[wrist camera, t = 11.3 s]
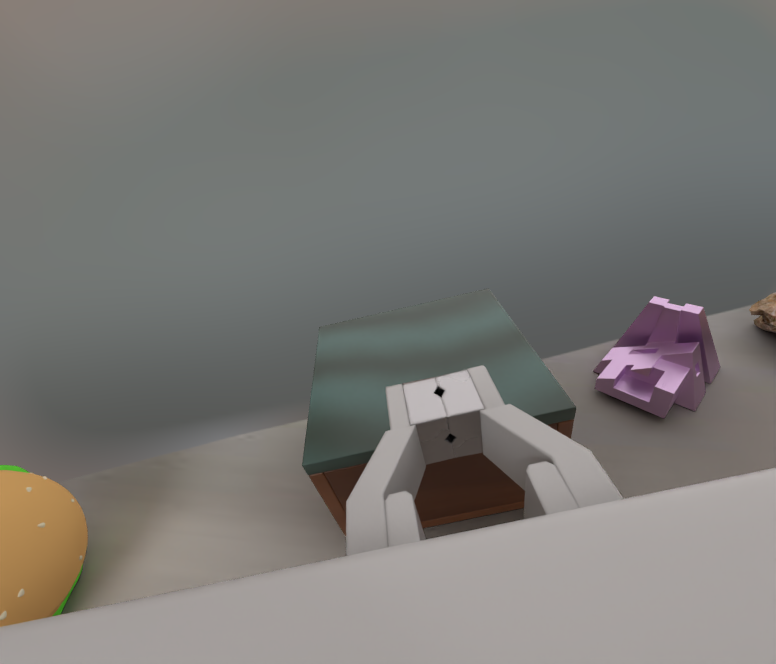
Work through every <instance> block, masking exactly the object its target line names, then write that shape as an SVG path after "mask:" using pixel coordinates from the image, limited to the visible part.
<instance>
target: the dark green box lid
mask: <svg viewBox="0 0 776 664" xmlns="http://www.w3.org/2000/svg"><path fill="white" fill-rule="evenodd" d="M481 365H483V366H485V367H486V369H487V371H488V373H489V375H490V377H491V379H492V381H493V383H494V384H495V386H496V388H497V390H498V392H499V394H500V396H501V398H502V400H503V402H504V404H505V405H508V404H511V405H513V406H515V407H516V408H518V409H520V410H522V411H523V412H525V413H527V414H529V415H530V416H532V417H534V418H535V419H537V420H539V421H541V422H542V423H544V424H546V425H548V424H553V423H558V422H562V421H567V420H572V419H574V417H575V411H576V406H575V405H574V404H573V402H572V401H571V400H570V398H569V397H568V396H567V394H566V393H565V391H564V390H563V389H562V387H561V386H560V385H559V383H558V382H557V381H556V379H555V378H554V376H553V375H552V374H551V372H550V371H549V370H548V368H547V367H546V366H545V364H544V363H543V362H542V360H541V359H540V357H539V356H538V355H537V354H536V352H535V351H534V349H533V348H532V347H531V345H530V344H529V343H528V341H527V340H526V339H525V337H524V336H523V334H522V333H521V332H520V330H519V329H518V328H517V326H516V325H515V324H514V322H513V321H512V319H511V318H510V317H509V315H508V314H507V313H506V311H505V310H504V309H503V307H502V306H501V304H500V303H499V302H498V300H497V299H496V298H495V296H494V295H493V294H492V292H491V291H490V290H489V289H484V290H479V291H475V292H471V293H466V294H462V295H457V296H453V297H449V298H444V299H440V300H436V301H431V302H427V303H423V304H418V305H414V306H410V307H405V308H401V309H396V310H392V311H387V312H383V313H378V314H375V315H370V316H366V317H361V318H357V319H352V320H348V321H343V322H339V323H335V324H330V325H326V326H321V327H319V335H318V343H317V351H316V359H315V367H314V376H313V383H312V391H311V400H310V407H309V415H308V423H307V431H306V439H305V447H304V455H303V463H302V466H303V468H304V470H305V471H306V473H307V474H308V475H312V474H317V473H321V472H326V471H331V470H336V469H340V468H345V467H350V466H354V465H359V464H364V463H368V462H369V460H370V458H371V456H372V455H373V453H374V451H375V449H376V448H377V446H378V444H379V442H380V440H381V439H382V437H383V435H384V433H385V431H389V430H390V423H389V415H388V407H387V399H386V392H385V390H386V387H387V386H393V385H398V384H402V383H406V382H411V381H416V380H421V379H426V378H431V377H435V376H439V375H443V374H448V373H452V372H456V371H461V370H465V369H466V370H467V369H469V368H473V367H477V366H481ZM402 385H403V384H402Z"/></svg>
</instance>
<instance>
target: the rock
mask: <svg viewBox="0 0 776 664" xmlns="http://www.w3.org/2000/svg"><path fill="white" fill-rule="evenodd" d="M749 311H751V315H761V316H760V317H759V318H757V319H755V320H754V323H755V325H756V326H758V327H759V328H761V329H763V330H765V331H770V332H776V293H773V294H770V295H769V296H768V297H767V298H765V299H763V300H760V301H758V302H756V303H755V304H753V305H752V306H751V308H750V309H749Z"/></svg>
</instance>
